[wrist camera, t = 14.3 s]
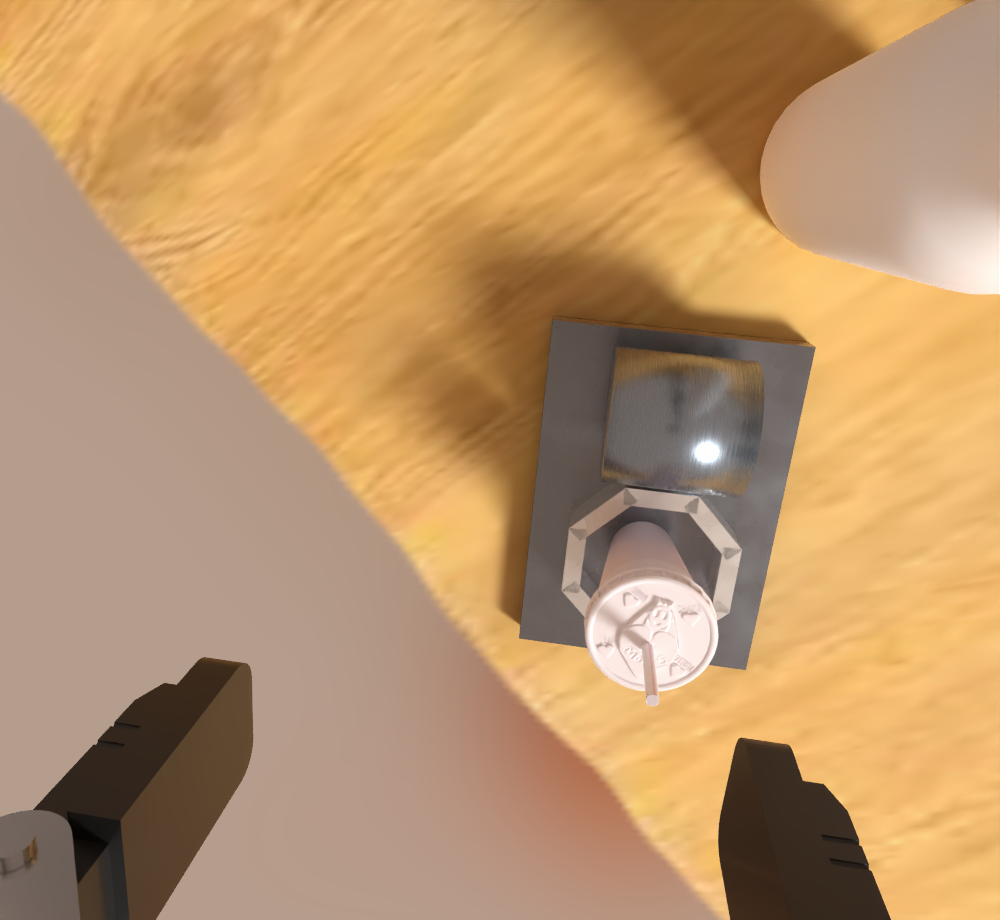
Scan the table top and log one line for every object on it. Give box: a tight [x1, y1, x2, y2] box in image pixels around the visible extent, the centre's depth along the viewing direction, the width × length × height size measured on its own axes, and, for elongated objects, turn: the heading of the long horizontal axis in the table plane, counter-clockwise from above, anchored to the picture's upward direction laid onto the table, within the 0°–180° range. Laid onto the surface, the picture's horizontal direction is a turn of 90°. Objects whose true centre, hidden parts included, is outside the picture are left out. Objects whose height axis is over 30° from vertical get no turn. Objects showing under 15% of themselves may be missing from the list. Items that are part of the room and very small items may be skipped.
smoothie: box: [584, 521, 718, 706], centre depth 40 cm, size 6×6×14 cm
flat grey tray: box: [519, 316, 815, 670], centre depth 43 cm, size 20×14×8 cm
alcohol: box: [760, 0, 1000, 294], centre depth 26 cm, size 9×9×30 cm
